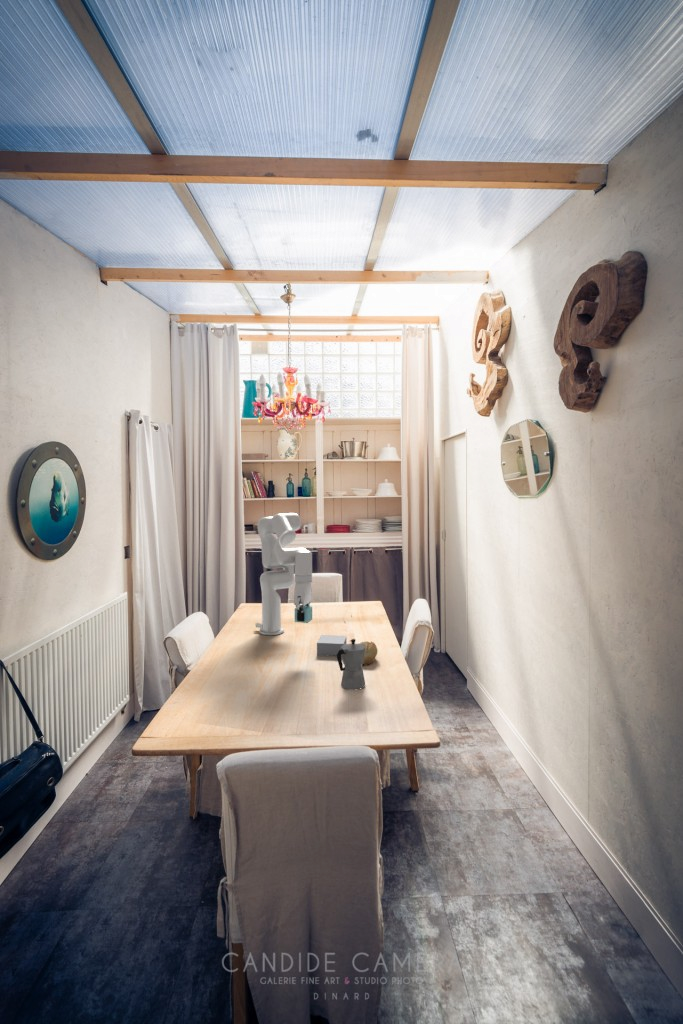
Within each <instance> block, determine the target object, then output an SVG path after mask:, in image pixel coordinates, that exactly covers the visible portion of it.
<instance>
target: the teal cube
mask: <svg viewBox="0 0 683 1024" xmlns="http://www.w3.org/2000/svg"><path fill="white" fill-rule="evenodd" d="M301 609H302V607H301ZM312 620H313V606H312V605H310V606H304V621H297V609H296V607H295V608H294V623H304V624H309V623H310V622H311V621H312Z"/></svg>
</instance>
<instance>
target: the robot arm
mask: <svg viewBox="0 0 683 1024" xmlns="http://www.w3.org/2000/svg"><path fill="white" fill-rule="evenodd" d="M301 527H302V520H301V517H300V515H299V514H298V513H295V512H289V513H282V512H281V513H276V514H274V515H273V516H264V517H261V518H260V519H258V521H257V531H258V532H257V533H258V536H259V539H260V542H261V563H262V566H263V567H264V568H265V569H278V568H279V569H280V570H267V571H265V572H263V573H261V574H260V577H259V582H260V589H261V622H255V628H259V631H258V632H259V634H261V635H264V636H276V635H278V636H279V635H281V634H283V633H285V630H284V629H285V628H284V627H282V625H281V624H282V621H281V620H282V615H281V614H282V610H281V609H282V607H281V606H282V605H281V602H282V601H281V599H282V598H281V596H280V594H279V593H278V592H277V590H283V589H284V590H285V589H290V588H292V587H293V586H294V592H293V593H294V594H293V605H294V606H295V608H296V609H297V621H304V606H311V601H312V582H313V553H312V551H310V550H308V549H307V548H306V547H291V548H285V547H286V546H288V545H290V544H292V543H293V542H294V541H295V540H296V538H297V533H296V531H298V530H300V529H301ZM275 534H276V535H275ZM281 568H282V569H281ZM294 583H295V584H294ZM301 607H302V609H301Z"/></svg>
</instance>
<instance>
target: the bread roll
mask: <svg viewBox="0 0 683 1024" xmlns="http://www.w3.org/2000/svg"><path fill="white" fill-rule="evenodd" d="M360 643H361V644H365V654H364V661H363V664H364V665H363V666H367V665H366V664H368V665H370V664H372V663H373V662H374V661H375V660H376V657H377V655H378V648H377V645H376V643H375V642H374V641H361V642H360Z"/></svg>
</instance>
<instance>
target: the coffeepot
mask: <svg viewBox="0 0 683 1024" xmlns="http://www.w3.org/2000/svg"><path fill="white" fill-rule="evenodd" d="M350 642H351V643H346V644H344V645H343V646H342V647H341V650H339V651H338V653H337V656H336V660H337V663H338V666H339V669H340V670H339V671H341V672H342V678H341V682H340V683H341V684H340V686H341V687H342V688H343V687H344V688H343V689H344V690H349V689H353V690H352V691H356V690H355V689H358V690H361V689H360V688H362V689H363V688H364V687H365V685H366V681H365V680H366V679H365V675H364V670H363V665H362V664H363V661H364V654H365V644H361V642H360V643H356V639H355V638H352V639H351V640H350ZM341 655H342V656H341ZM343 665H344V667H343Z"/></svg>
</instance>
